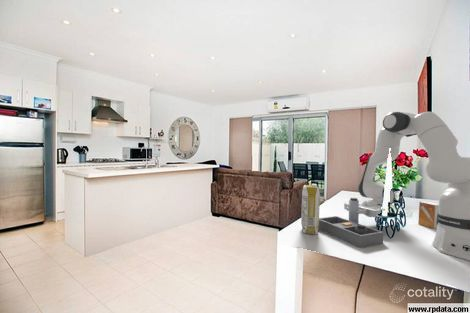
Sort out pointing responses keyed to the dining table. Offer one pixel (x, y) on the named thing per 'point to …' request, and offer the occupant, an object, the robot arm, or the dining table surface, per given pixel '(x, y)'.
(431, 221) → the small box
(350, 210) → the grey plug
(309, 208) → the juice carton
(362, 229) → the twin plug
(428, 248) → the dining table surface
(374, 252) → the dining table surface
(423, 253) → the dining table surface
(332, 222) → the grey compartment tray
